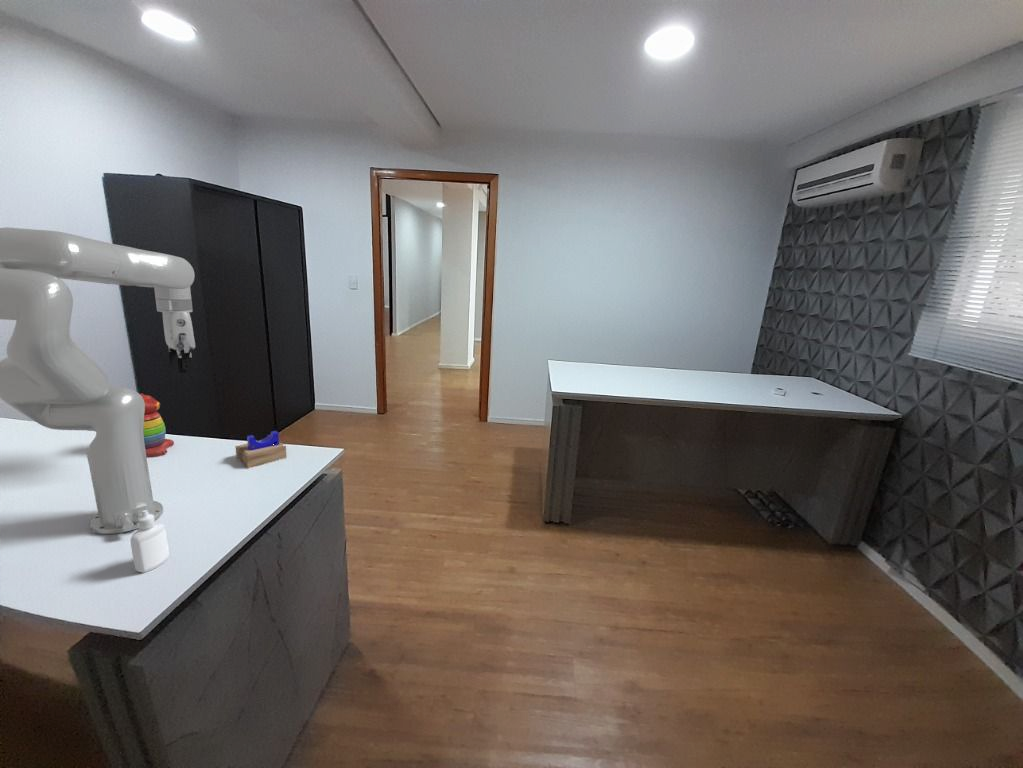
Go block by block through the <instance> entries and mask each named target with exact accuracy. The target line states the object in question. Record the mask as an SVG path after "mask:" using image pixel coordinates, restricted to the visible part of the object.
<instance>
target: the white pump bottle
mask: <svg viewBox="0 0 1023 768" xmlns="http://www.w3.org/2000/svg"><path fill="white" fill-rule="evenodd" d="M138 524H139V528H138V529H136V531H135V532H134V533H133V534H132V536H131V537H130V548H131V552H132V559H133V565H134V570H135V571H136V572H139V573H142V574H143V573H147V572H150V571H153V570H154V569H156V568H158V567H160V566H162V565H163V564H164V563H165V562H167V561H168V559H169V558H170V556H171V553H170V546H169V541H168V540H169V539H168V534H167V528H166V524H164V523H160V522H156V520H155V519H154V515H153V514H149V513H148V511H147V510H144V511H143V512H142V516H140V517H139V518H138Z"/></svg>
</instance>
